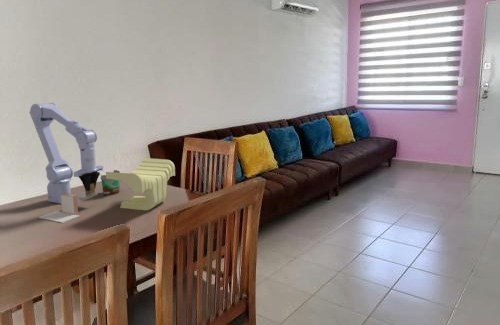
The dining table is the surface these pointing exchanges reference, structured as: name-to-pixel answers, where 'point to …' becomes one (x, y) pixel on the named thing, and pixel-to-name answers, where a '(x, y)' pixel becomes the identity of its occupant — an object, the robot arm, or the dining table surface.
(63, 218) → the mat
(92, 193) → the turner
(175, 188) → the dining table surface
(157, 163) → the slatted curved stool
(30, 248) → the dining table surface
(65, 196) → the tile
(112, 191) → the food container
